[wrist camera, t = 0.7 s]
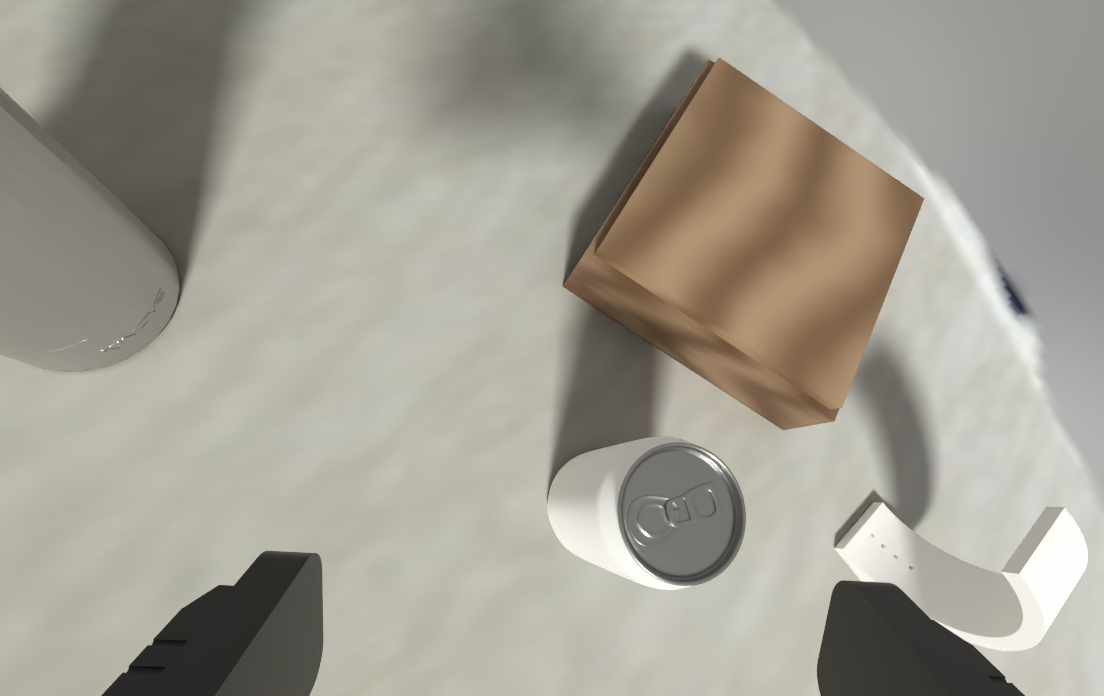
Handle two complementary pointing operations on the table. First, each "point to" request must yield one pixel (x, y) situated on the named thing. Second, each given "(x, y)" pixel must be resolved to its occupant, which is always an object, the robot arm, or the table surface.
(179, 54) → the table surface
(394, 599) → the table surface
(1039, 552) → the white curved piece
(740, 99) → the podium
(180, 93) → the table surface
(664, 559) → the can
